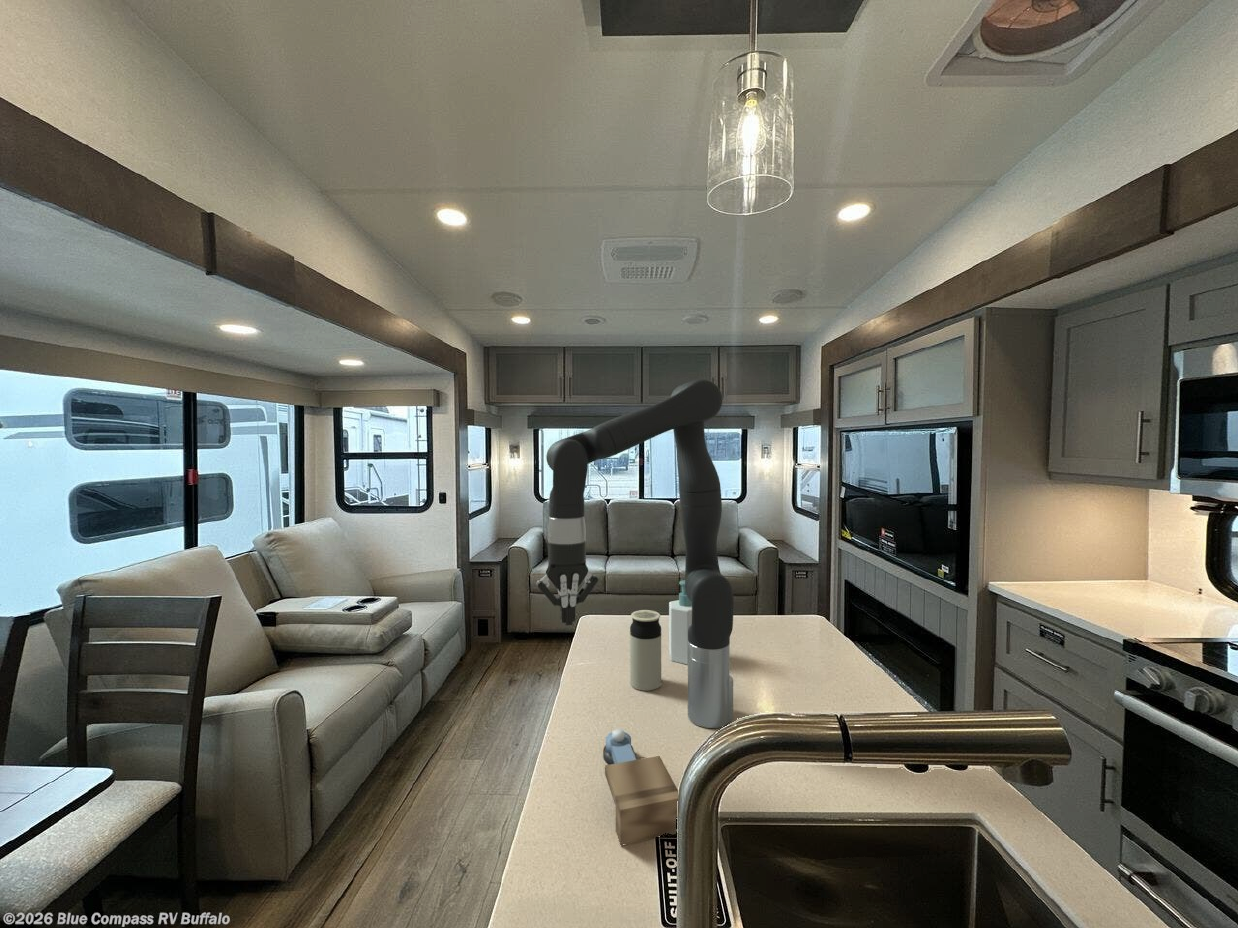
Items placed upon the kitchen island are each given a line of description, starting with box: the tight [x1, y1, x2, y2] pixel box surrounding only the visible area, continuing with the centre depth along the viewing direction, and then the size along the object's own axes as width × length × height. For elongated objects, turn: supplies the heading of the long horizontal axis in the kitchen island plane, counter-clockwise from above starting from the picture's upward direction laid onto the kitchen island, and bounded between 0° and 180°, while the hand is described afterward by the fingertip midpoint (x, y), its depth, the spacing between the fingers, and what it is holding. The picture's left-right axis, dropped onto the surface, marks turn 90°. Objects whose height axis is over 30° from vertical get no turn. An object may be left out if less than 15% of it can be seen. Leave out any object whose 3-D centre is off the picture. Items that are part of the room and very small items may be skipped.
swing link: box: [605, 728, 637, 764], centre depth 88 cm, size 16×5×3 cm, turn 13°
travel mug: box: [629, 609, 662, 692], centre depth 121 cm, size 8×8×18 cm
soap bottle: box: [668, 579, 692, 666], centre depth 137 cm, size 10×9×22 cm
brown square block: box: [604, 755, 679, 846], centre depth 78 cm, size 10×10×6 cm
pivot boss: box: [602, 744, 635, 765], centre depth 93 cm, size 6×6×1 cm
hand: (567, 623), depth 96 cm, fingers closed
